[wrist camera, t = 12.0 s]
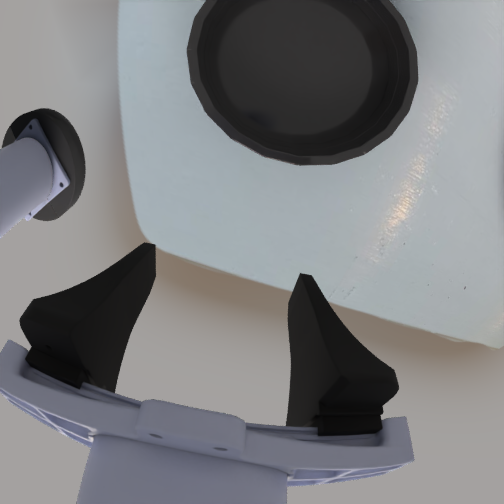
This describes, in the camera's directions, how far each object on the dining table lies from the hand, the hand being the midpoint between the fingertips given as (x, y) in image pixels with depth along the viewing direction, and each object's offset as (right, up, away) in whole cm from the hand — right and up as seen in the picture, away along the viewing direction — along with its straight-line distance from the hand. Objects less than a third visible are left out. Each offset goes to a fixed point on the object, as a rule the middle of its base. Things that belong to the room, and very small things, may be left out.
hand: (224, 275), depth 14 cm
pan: (+5, +14, +2) cm, 15 cm away
